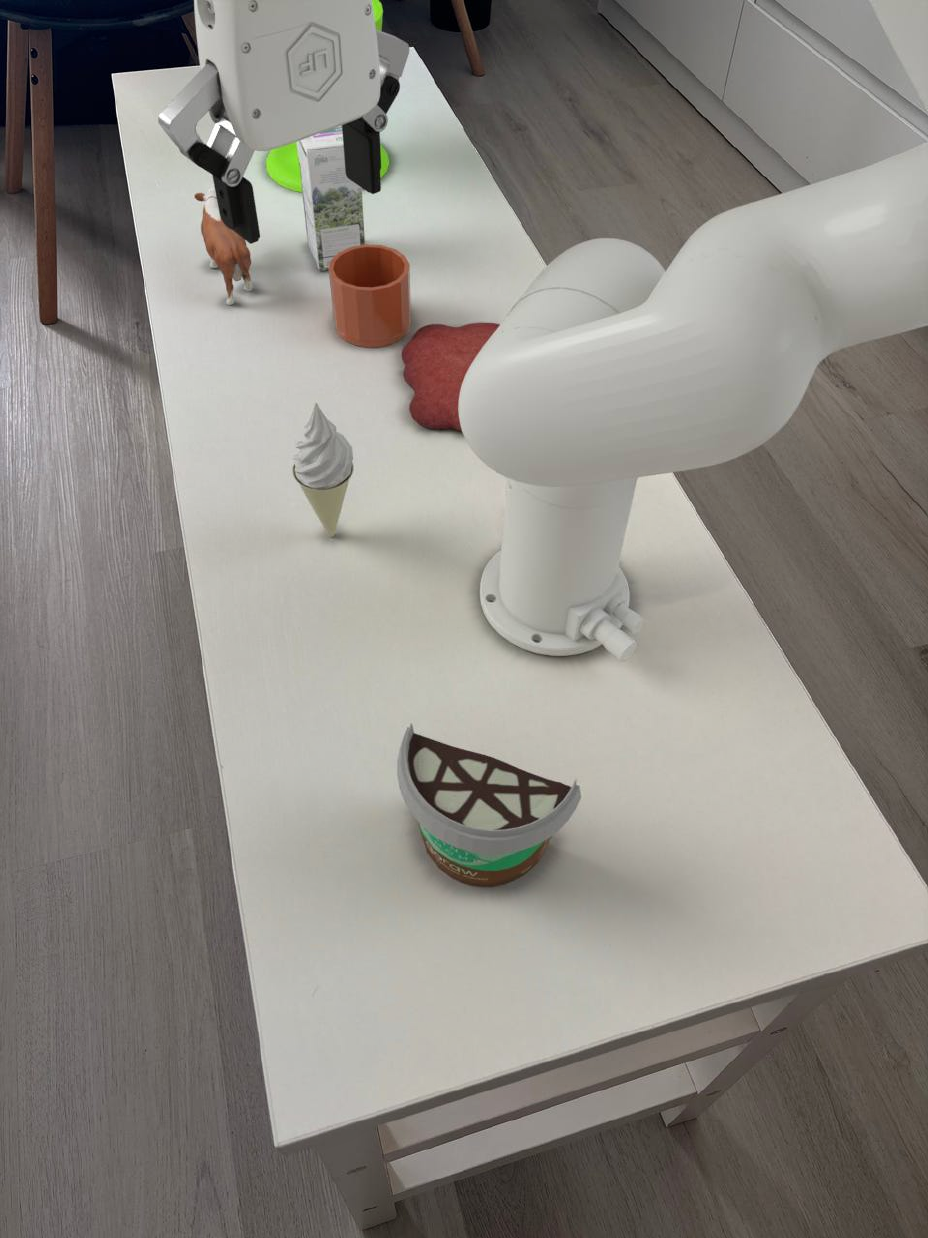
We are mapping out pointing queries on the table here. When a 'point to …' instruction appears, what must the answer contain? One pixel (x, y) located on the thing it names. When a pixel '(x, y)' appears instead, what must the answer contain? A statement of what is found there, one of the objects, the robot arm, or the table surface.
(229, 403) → the table surface
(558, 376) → the robot arm
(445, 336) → the patty
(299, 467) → the ice cream cone
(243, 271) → the bull figurine
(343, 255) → the holder cup
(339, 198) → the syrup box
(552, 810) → the food container
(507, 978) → the table surface
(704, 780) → the table surface
